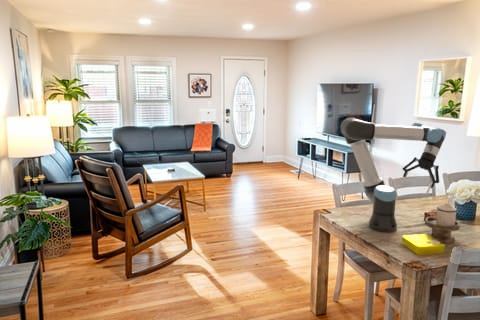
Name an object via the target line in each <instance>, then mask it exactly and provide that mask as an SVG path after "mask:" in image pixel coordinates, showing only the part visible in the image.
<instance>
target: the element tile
mask: <svg viewBox="0 0 480 320" xmlns="http://www.w3.org/2000/svg"><path fill="white" fill-rule="evenodd" d="M401 245H403V246H404V247H406V248H407V249H408V250H410V251H411V252H412V253H414V254H416V255H419V256H424V255H427V256H428V255H435V254H444V253H445V247H446V243H442V242H440V241H438V240H437V239H435V238H433V237H432V236H430V235H428V234H427V233H419V234H406V235H405V234H403V235H402V236H401Z"/></svg>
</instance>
